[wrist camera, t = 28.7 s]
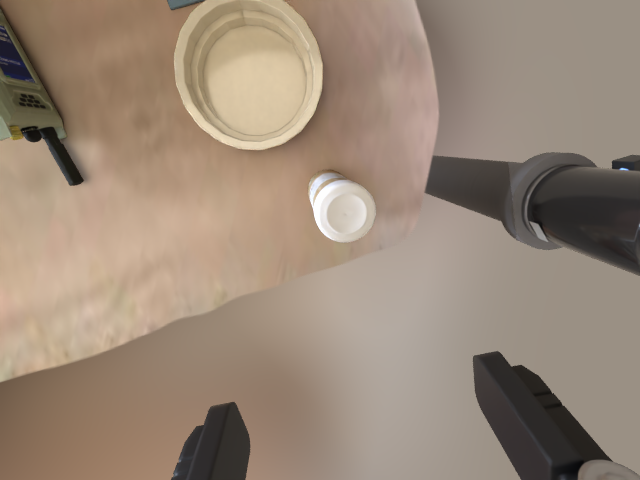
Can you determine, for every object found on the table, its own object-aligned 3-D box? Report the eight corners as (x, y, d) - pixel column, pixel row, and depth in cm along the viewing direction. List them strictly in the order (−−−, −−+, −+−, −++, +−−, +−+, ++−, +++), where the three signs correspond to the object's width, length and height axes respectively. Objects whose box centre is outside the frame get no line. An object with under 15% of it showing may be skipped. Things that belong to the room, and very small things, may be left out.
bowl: (297, -5, 32) (299, -31, 27) (332, 129, 35) (338, 127, 31) (170, 32, 32) (149, 13, 27) (218, 163, 35) (206, 166, 31)
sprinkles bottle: (338, 215, 38) (362, 252, 25) (300, 200, 37) (305, 231, 24) (354, 177, 37) (388, 196, 24) (316, 161, 36) (330, 172, 23)
